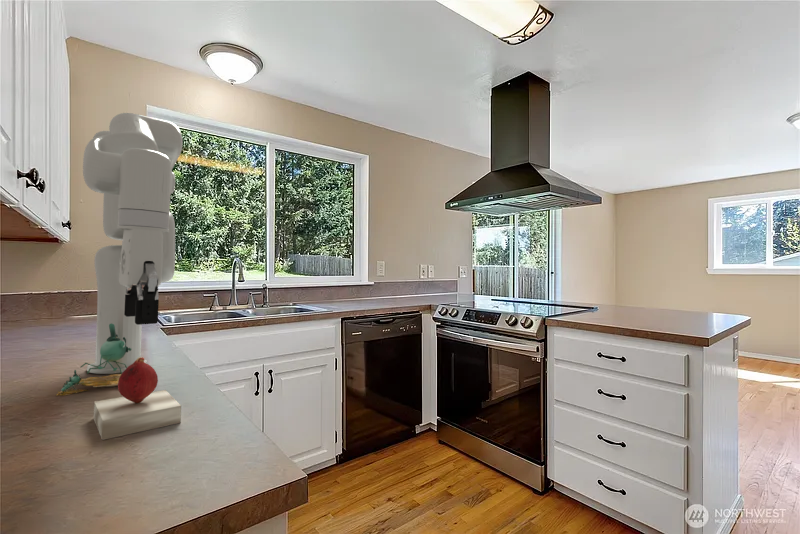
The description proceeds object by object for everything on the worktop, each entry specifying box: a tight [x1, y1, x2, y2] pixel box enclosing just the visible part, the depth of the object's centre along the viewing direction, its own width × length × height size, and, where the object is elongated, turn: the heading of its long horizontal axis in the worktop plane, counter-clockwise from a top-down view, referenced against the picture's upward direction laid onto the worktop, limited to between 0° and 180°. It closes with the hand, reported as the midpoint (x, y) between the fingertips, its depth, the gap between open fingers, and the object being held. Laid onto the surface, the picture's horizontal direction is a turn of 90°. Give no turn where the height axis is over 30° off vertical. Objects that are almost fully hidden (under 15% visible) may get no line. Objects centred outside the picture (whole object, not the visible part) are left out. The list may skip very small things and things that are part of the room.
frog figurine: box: [55, 323, 132, 396], centre depth 88 cm, size 10×18×15 cm, turn 137°
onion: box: [117, 356, 159, 403], centre depth 69 cm, size 6×6×8 cm
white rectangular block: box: [93, 389, 182, 441], centre depth 69 cm, size 11×11×3 cm
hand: (140, 319), depth 69 cm, fingers open, 9 cm apart
